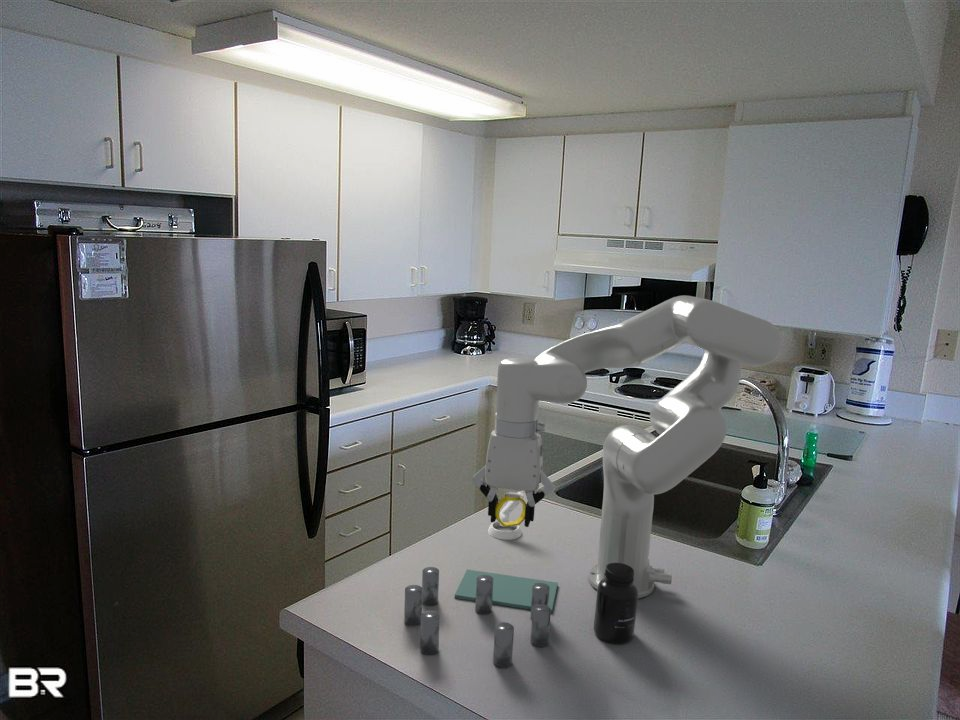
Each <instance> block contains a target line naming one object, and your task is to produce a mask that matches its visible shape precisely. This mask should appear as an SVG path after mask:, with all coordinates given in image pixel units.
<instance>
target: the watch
mask: <svg viewBox="0 0 960 720" xmlns="http://www.w3.org/2000/svg"><path fill="white" fill-rule="evenodd" d="M518 500H521V502H520V503H521V505H522V511H521V513H520V516H519V517H518V518H517V519H516V520H514V521H513V520H511V521H512V522H504V523H503V522H502V521H501V520H500V517H499V514H500V512H501V510H502V507H503V505H504V504H506V503H508V502H509V501H518ZM526 504H527V502H526V501H525V500H524V498H523V499H522V498H521V497H520V495H519V494H518V492H514V491H511V492H510V491H509V492H508V491H507V492H505V494H504V496H503V497H502V498H501V499H498V504H497V505H496V508H495V516H496V521H498V522H499V523H500V524H501V525H503V526H504V527H503V526H502V527H503V528H505V527H510V526H515V525H519V526H520V525H521V524H522V523H523V522H525V508H526Z"/></svg>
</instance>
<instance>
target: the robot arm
mask: <svg viewBox="0 0 960 720" xmlns="http://www.w3.org/2000/svg"><path fill="white" fill-rule="evenodd" d="M684 344H688V345H691V346H694V347H697V348H699V349H703V353H702V356H701V357H702V358H701V361H700V362H699V364H698V366H697V367H696V368H695V369H694V370H693V371H692V372H691V373H690V374H689V375H688V376H687V377H686V378H685V379H683V380H682V381H680V383H678V384H677V385H676V386H674V388H673V387H672V389H671V390H669V391H668V392H667V393H666V394H665V395H663V396H662V397H661V398H660V399H659V400H657V401H656V403H655V404H654V405H653V406H652V408H651V410H650V412H649V422H650V424H651V426H652V428H653V429H654V430H655V431H656V432H657V434H659V435H658V437H657V436H655V435H653V433H651V432H649V431H647V430H646V429H644V428H642V427H640V426H638V425H633V424H623V425H619V426H617V427H615V428H613V429H612V430H611V431H610V432H609V433H608V434H607V436H606V438H605V440H604V443H603V445H602V446H603V447H602V470H603V471H602V472H603V495H602V497H603V498H602V507H601V518H600V520H601V521H600V531H599V541H598V544H599V545H598V553H597V554H598V556H597V565H595V566H593V567H591V569H590V570H589V571H588V582H589V584H590V585H591V586H592V587H593V588H594V589H595V590H597V588H598V584H599V582H600V581H601V580H602V579H603V578H604V573H605V568H606V565H608V564H609V563H623V564H626V565H629V566H630V567H631V568H633V569H634V582H633V583H634V584H635V585H636V587H637V589H638V599H641V598H645V597H647V596H649V595H650V594H651V593H652V592H653V591H654V588H655V583H660V584H662V585H663V584H664V585H672V579H673V578H672V577H673V576H672V573H665V568H662V567H653V565H650V559H649V556H650V545H651V544H650V542H651V535H652V526H653V525H652V523H653V516H654V515H653V513H654V504H655V495H660V494H663V493H666V492H668V491H669V490H672V489H673V488H674V487H677V485H678V484H680V483H681V482H682V481H683V480H684V479H686V478H687V477H688V476H689V475H691V474H692V473H693V472H694V471H696V470H698V468H699V467H700V466H702V465H703V464H704V463H705V462H706V461H708V459H710V458H711V457H712V456H713V455H714V454H716V452H718V450H719V449H720V448H721V446H722V444H723V442H724V441H725V438H726V435H727V429H728V428H727V427H728V426H727V421H726V418H725V415H724V414H723V412H722V411H721V409H722V408H723V407H724V406H725V405H726V404H727V403H728V402H730V400H732V398H733V397H734V396H735V394H736V392H737V390H738V387H739V385H740V381H741V374H742V365H743V364H744V365H746V366H750V367H755V368H757V367H758V368H759V367H764V366H765V367H766V365H769V364H771V363H773V361H775V360H776V359H777V358H778V356H779V355H780V353H781V351H782V347H783V338H782V335H781V333H780V330H779V329H778V328H777V327H776V325H774V324H773V323H772V322H770V321H768V320H767V319H766V320H765V319H763V318H760V317H758V316H756V315H752V314H749V313H746V312H744V311H740V310H738V309H735V308H733V307H730V306H727V305H725V304H723V303H720V302H718V301H714V300H711V299H707V298H702V297H697V296H692V295H678V296H673V297H671V298H669V299H666V300H664V301H663V302H661V303H659V304H657V305H655V306H652V307H650V308H649V309H646V310H645V311H642V312H640V313H639V314H637V315H634V316H632V317H630V318H628V319H626V320H623V321H621V322H620V323H616V324H614V325H612V326H611V325H610V326H607V327H604V328H600V329H598V330H594V331H592V332H591V331H590V332H586V333H583V334H581V335H580V334H579V335H577V336H575V337H572V338H570V339H566V340H565V341H562V342H560V343H559V344H556V345H555V346H552V347H550V348H549V349H547V350H544V351H543V352H541V353H540V354H539V355H537V356H536V357H535V358H534V359H529V358H525V357H523V358H522V357H509V358H504V359H502V360H501V361H500V362H499V364H498V368H497V378H496V379H497V381H496V383H497V385H496V402H495V418H494V419H495V422H494V423H495V424H494V430H492V431H491V433H490V437H489V441H488V446H487V450H486V451H487V452H486V459H485V465H484V466H483V467H481V468H480V469H479V470H478V471H477V472H476V473H475V474H474V475H473V476H472V478H471V482H473V484H474V485H475V486H476V487H477V488H479V491H480V492H481V493H482V494H483V495H484V497H485V498H486V501H487V502H488V505H487V506H488V507H487V516H489V517H490V523H493V522H495V521H497V519H496V516H495V508H496V505H497V504H498V502H499V497H498V494H497V492H498V490H499V489H504V490H511V491H518V492H521V491H522V492H524V494H525V496H526V500H527V502H526V508H525V520H524V523H523V524H524V527H525V528H529V526H530V523H531V522H534V520H535V508H536V506H535V505H536V504H538V503H539V502H540V501H542V500H543V499H544V498H545V497H547V496H548V495H550V494H551V493H553V491H554V490H555V484H554V483H553V482H552V481H551V480H550V478H549V477H548V476H547V474H546V473H545V472H544V471H543V443H542V436H541V434H540V433H539V432H545V431H546V423H542V422H540V421H539V416H538V415H539V402H540V401H541V402H547V403H554V404H564V405H565V404H571V403H574V402H577V401H578V400H580V399H581V398H582V397H583V396H584V395H585V393H586V391H587V388H588V380H587V376H586V373H588V372H592V371H596V370H601V369H627V368H629V369H630V368H634V367H639V366H642V365H644V364H646V363H647V362H649V361H651V360H653V359H655V358H657V357H659V356H661V355H663V354H666V353H667V352H669V351H671V350H673V349H676V348H677V347H680V346H681V345H684ZM540 484H542V486H543V488H541V489H539V487H540ZM537 490H538V491H537ZM536 491H537V492H536Z"/></svg>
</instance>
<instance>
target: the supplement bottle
mask: <svg viewBox="0 0 960 720" xmlns="http://www.w3.org/2000/svg"><path fill="white" fill-rule="evenodd" d="M633 582H634V569H633V568H631V567H630V566H629V565H626V564H623V563H609V564H608V565H606V568H605V573H604V578H603V579H602V580H601V581H600V582H599V584H598V588H597V589H596V598H595V606H594V607H595V609H594V620H593V631H594V633H595V635H596V636H597V637H598V638H599V639H600V640H602V641H604V642H606V643H608V644H614V645H621V644H622V645H624V644H627V643H629V642H630V641H631V640H632V639H633V637H634V634H635V626H636V618H637V608H638V599H639V598H638V589H637V587H636V585H635V584H634V583H633Z"/></svg>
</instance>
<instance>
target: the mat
mask: <svg viewBox="0 0 960 720" xmlns="http://www.w3.org/2000/svg"><path fill="white" fill-rule="evenodd" d="M480 575H489V576H491V577H493V598H492V605H499V606H505V607H512V608H518V609H519V608H520V609H524V610H525V609H526V610H531V601H532V586H533V585H534V584H535V583H544V584H547V585H548V586H549V587H550V589H549V604H548V606H549V607H550V609H551V614H552V613H553V610H554V609H553V607H554V603H555V600H556V594H557V589H558V584H559V583H558V582H557V581H556V582H555V581H548V580H544V579H543V580H542V579H536V578H530V577H529V578H528V577H523V576H515V575H508V574H501V573H500V574H499V573H494V572H487V571H480V570H475V569H474V570H473V569H468V568H467V569H466V571H465V573H464V574H463V577H462V579H461V580H460V582H459V585H458V587H457V589H456V591H455V594H454V599H461V600H467V601H474V602H476V581H477V577H478V576H480Z"/></svg>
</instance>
